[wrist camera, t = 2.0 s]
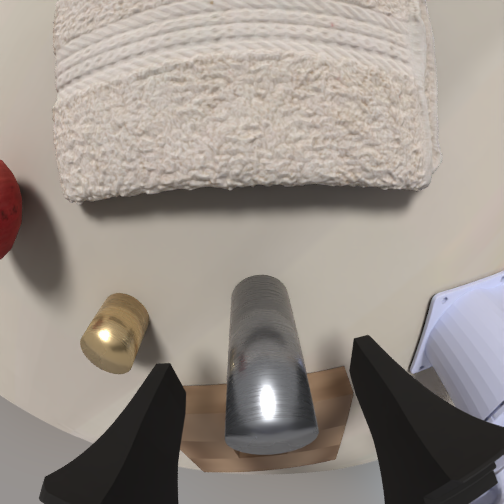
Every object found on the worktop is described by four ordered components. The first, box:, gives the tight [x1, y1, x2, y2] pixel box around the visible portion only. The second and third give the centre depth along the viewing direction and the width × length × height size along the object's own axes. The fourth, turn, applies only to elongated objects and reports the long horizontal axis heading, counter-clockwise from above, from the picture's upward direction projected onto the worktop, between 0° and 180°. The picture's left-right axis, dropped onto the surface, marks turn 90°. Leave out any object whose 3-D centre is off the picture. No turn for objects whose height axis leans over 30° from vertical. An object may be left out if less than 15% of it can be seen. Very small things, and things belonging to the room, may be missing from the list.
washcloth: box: [52, 0, 442, 204], centre depth 8 cm, size 12×18×3 cm, turn 93°
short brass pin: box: [80, 293, 149, 374], centre depth 13 cm, size 3×3×4 cm
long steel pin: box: [225, 275, 319, 455], centre depth 11 cm, size 3×3×8 cm
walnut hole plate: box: [180, 366, 354, 472], centre depth 19 cm, size 14×14×2 cm
